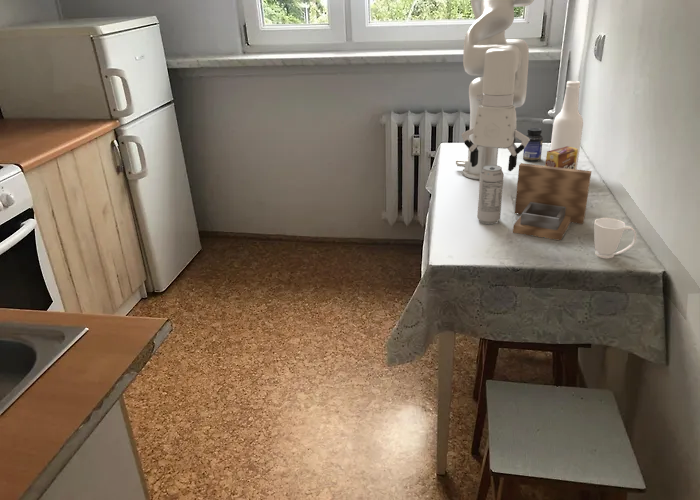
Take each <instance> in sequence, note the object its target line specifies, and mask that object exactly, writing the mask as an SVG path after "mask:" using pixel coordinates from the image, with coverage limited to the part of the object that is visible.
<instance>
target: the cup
mask: <svg viewBox="0 0 700 500" xmlns="http://www.w3.org/2000/svg"><path fill="white" fill-rule="evenodd" d="M593 225H594V226H593V230H594V232H593V235H594V237H593V240H594V241H593V243H594V250H595V251H594V255H595V256H597V257H598V258H602V259H607V260H608V259H613V258H615V256H619V255H620V254H623V253H625V252H627V251H628V250H630V249H632V248H633V247H634V245H635V244H636V242H637V238H638V237H637V231H636V230H635V229H634V228H633V227H632V226H629V225H628V226H627V225H626V222H624V221H622V220H620V219H618V218H613V217H600V218H596V219H594V224H593ZM625 230H632V232H633V240H632V241H631V243H630V244H628V246H626V247H625V248H623V249H621V250H618V251H617V249H618V247H619V245H620V242H621V239H622V236H623V234H624V231H625ZM616 251H617V252H616Z"/></svg>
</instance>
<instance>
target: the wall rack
mask: <svg viewBox="0 0 700 500" xmlns="http://www.w3.org/2000/svg"><path fill="white" fill-rule="evenodd" d="M517 173H518V176H517V184H516V185H517V186H516V195H515V196H516V197H515V205H514V206H515V207H514V208H515V209H514V214H515V213H518V214H517V215H520V214H521V215H520V216H519V218H517V220H516V221H515V223H514V224H513V227H512V233H513V234H518V235H519V234H521V235H525V234H526V235H525V236H531V235H533V236H532V237H537V236H538V237H539V238H543V237H545V238H544V239H548V238H549V239H550V240H554V239H555V240H554V241H560V240H561V241H562V239H563V237H564V235H565V234H566V232H567V231H568V229H569V227H570V225H571V223H572V222H573V224H579V225H583V224H584V222H585V217H586V210H587V203H588V199H589V198H588V197H589V191H590V184H591V179H592V171H591V170H583V169H578V168H577V169H568V168H559V167H550V166H545V165H540V164H533V163H524V162H523V163H522V162H521V163H520V164H519V165H518V172H517ZM569 224H570V225H569ZM568 226H569V227H568Z"/></svg>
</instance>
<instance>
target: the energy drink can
mask: <svg viewBox="0 0 700 500" xmlns="http://www.w3.org/2000/svg"><path fill="white" fill-rule="evenodd" d="M504 175H505V174H504V172H503V170H502V166H500V165H498V164H497V165H486V166H484V167H483V170H482V171H481V173H480V180H479V187H478V198H477V199H478V200H477V201H478V202H477V215H476V216H477V219H478V220H479V223H481V224H483V225H494V224H497V223H498V221H500V219H501V214H502V213H501V211H502V199H503V188H504V187H503V186H504Z"/></svg>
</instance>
